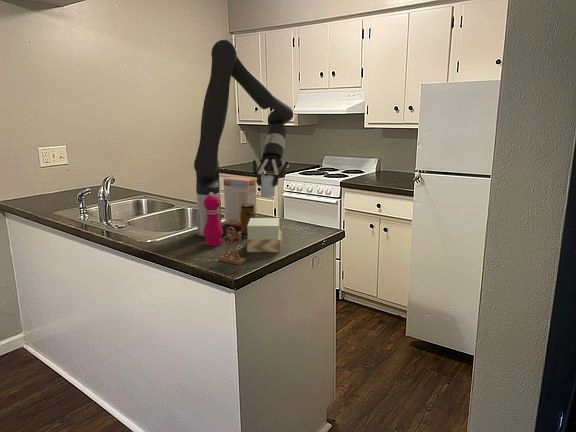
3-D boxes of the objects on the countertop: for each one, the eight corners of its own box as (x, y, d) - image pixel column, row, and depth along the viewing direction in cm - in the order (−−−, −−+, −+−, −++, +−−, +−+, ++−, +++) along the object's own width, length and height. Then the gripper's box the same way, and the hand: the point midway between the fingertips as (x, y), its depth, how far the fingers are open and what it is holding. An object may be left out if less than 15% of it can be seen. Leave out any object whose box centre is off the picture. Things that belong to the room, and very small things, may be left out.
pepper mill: (214, 239, 172) (212, 189, 167) (227, 243, 167) (225, 191, 162) (200, 244, 166) (197, 192, 162) (213, 247, 162) (210, 195, 157)
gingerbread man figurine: (218, 260, 149) (216, 226, 146) (226, 256, 152) (224, 223, 149) (239, 265, 144) (237, 230, 141) (246, 261, 148) (245, 227, 145)
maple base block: (247, 252, 157) (246, 239, 156) (251, 242, 169) (250, 230, 168) (280, 253, 157) (280, 239, 155) (282, 242, 168) (281, 230, 167)
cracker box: (257, 226, 190) (256, 178, 185) (248, 229, 186) (246, 180, 180) (234, 221, 198) (232, 175, 193) (224, 224, 194) (222, 177, 188)
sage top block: (247, 239, 156) (247, 226, 155) (250, 230, 167) (250, 218, 166) (278, 239, 156) (278, 225, 155) (279, 230, 167) (279, 218, 165)
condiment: (252, 230, 184) (251, 202, 182) (261, 235, 177) (260, 206, 174) (236, 232, 181) (235, 204, 178) (245, 237, 174) (244, 208, 171)
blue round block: (260, 196, 157) (260, 177, 155) (261, 193, 162) (261, 175, 160) (274, 196, 157) (274, 177, 155) (274, 194, 162) (275, 175, 160)
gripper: (253, 141, 163) (245, 178, 155) (291, 142, 161) (284, 180, 152) (257, 154, 170) (249, 190, 161) (293, 155, 167) (287, 192, 159)
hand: (266, 185), depth 157 cm, fingers closed on blue round block, 5 cm apart
